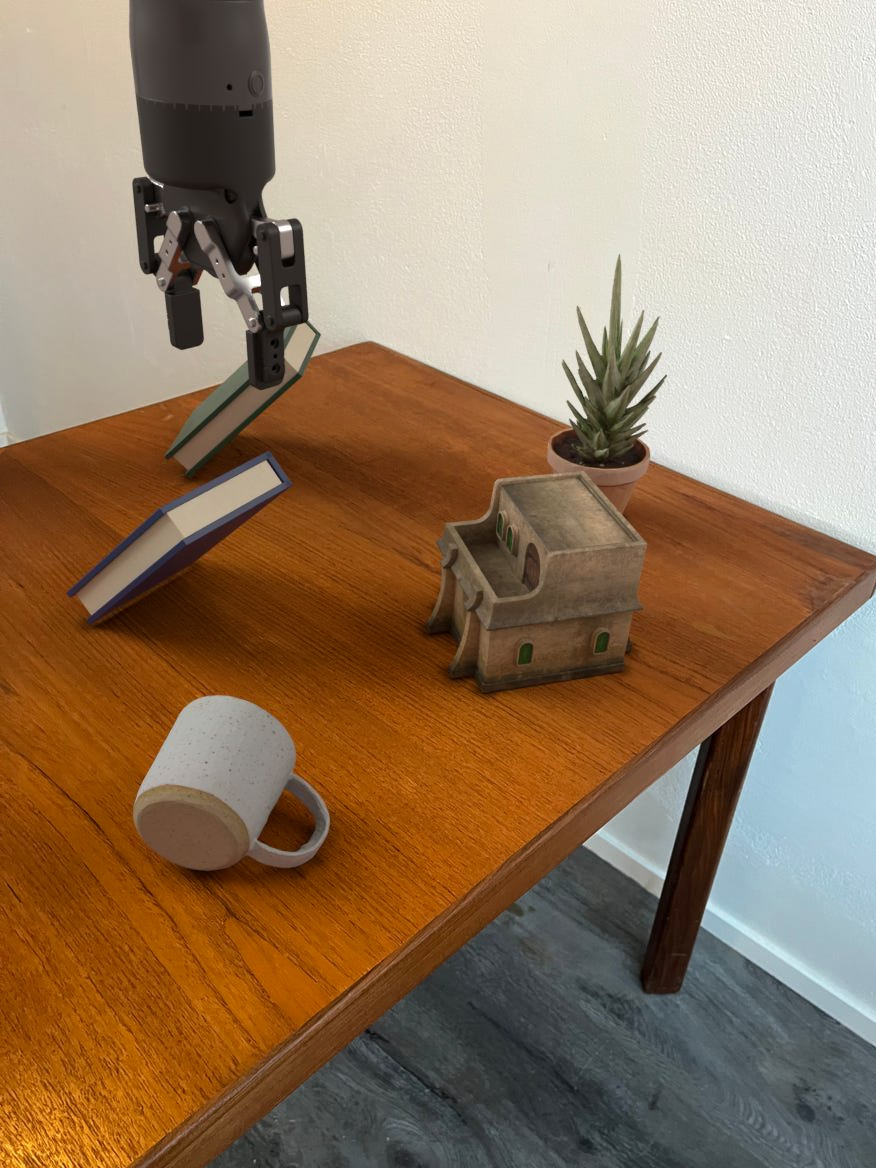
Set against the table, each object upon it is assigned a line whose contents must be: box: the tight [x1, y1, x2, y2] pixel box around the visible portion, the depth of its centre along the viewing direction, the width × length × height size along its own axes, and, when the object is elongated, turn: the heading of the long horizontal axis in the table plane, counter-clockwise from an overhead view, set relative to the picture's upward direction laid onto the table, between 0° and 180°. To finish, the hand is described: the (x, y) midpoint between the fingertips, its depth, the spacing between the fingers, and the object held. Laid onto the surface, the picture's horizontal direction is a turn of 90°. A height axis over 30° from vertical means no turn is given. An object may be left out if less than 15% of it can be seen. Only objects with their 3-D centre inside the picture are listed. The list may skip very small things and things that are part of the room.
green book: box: [163, 320, 322, 479], centre depth 98 cm, size 16×11×3 cm
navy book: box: [65, 450, 294, 626], centre depth 76 cm, size 16×11×3 cm
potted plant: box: [546, 253, 668, 515], centre depth 90 cm, size 10×10×25 cm
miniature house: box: [426, 471, 648, 694], centre depth 78 cm, size 15×14×11 cm
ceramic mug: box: [132, 694, 331, 872], centre depth 60 cm, size 11×8×8 cm
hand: (226, 365), depth 66 cm, fingers open, 8 cm apart
